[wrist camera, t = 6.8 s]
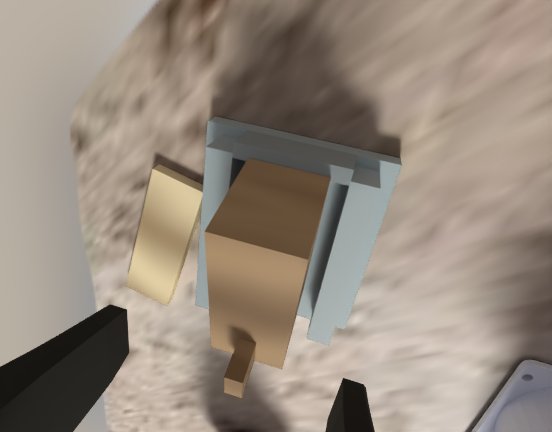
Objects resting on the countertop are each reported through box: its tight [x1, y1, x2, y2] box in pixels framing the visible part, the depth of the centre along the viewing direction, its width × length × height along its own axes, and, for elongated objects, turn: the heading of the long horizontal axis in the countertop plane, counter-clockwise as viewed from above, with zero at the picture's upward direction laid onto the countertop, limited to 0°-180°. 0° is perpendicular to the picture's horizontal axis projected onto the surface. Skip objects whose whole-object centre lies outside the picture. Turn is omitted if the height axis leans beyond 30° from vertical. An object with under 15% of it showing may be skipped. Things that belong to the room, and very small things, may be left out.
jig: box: [195, 116, 402, 345], centre depth 18 cm, size 10×9×3 cm
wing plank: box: [126, 164, 203, 306], centre depth 22 cm, size 9×3×1 cm, turn 158°
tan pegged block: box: [204, 158, 331, 398], centre depth 15 cm, size 8×4×6 cm, turn 170°
